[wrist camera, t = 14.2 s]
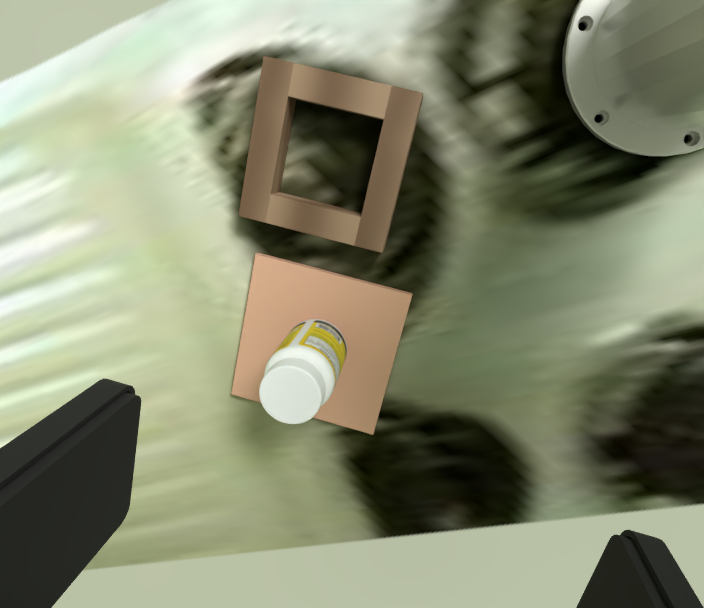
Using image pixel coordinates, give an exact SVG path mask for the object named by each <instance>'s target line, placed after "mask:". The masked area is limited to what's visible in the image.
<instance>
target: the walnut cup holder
mask: <svg viewBox="0 0 704 608" xmlns="http://www.w3.org/2000/svg"><path fill="white" fill-rule="evenodd" d="M296 100H300V101H305V102H309V103H313V104H317V105H321V106H326V107H330V108H334V109H338V110H342V111H346V112H351V113H355V114H359V115H363V116H367V117H372V118H376V119H380V120H384V121H383V125H382V129H381V134H380V138H379V142H378V146H377V151H376V155H375V159H374V163H373V168H372V172H371V176H370V180H369V185H368V189H367V193H366V197H365V202H364V206H363V210H362V213H360V212H356V211H352V210H349V209H345V208H341V207H337V206H333V205H329V204H325V203H321V202H317V201H313V200H309V199H305V198H301V197H297V196H293V195H289V194H285V193H281V192H280V188H281V182H282V177H283V171H284V166H285V160H286V155H287V149H288V144H289V138H290V133H291V127H292V122H293V116H294V111H295V105H296ZM422 100H423V93H421V92H416V91H412V90H408V89H403V88H399V87H395V86H391V85H386V84H382V83H378V82H373V81H369V80H365V79H361V78H356V77H352V76H348V75H343V74H339V73H335V72H331V71H326V70H322V69H318V68H313V67H309V66H305V65H301V64H296V63H292V62H288V61H284V60H279V59H275V58H271V57H266V56H264V58H263V64H262V70H261V77H260V83H259V89H258V96H257V102H256V108H255V114H254V121H253V127H252V133H251V140H250V146H249V152H248V159H247V165H246V171H245V177H244V184H243V190H242V196H241V203H240V209H239V215H238V216H241V217H245V218H249V219H253V220H257V221H261V222H265V223H268V224H272V225H276V226H280V227H284V228H288V229H292V230H295V231H299V232H303V233H307V234H311V235H315V236H319V237H322V238H326V239H330V240H334V241H338V242H342V243H346V244H350V245H353V246H357V247H361V248H365V249H369V250H373V251H377V252H380V253H383V251H384V249H385V246H386V242H387V238H388V234H389V230H390V226H391V222H392V218H393V214H394V210H395V206H396V202H397V199H398V195H399V191H400V187H401V183H402V179H403V175H404V171H405V167H406V163H407V159H408V155H409V151H410V147H411V143H412V140H413V136H414V132H415V128H416V124H417V120H418V116H419V112H420V108H421V104H422Z"/></svg>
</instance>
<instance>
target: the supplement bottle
mask: <svg viewBox="0 0 704 608" xmlns="http://www.w3.org/2000/svg"><path fill="white" fill-rule="evenodd" d="M346 355H347V345H346V341H345V338H344V336H343V334H342V333H341V331H340V330H339V329H338V328H337V327H336V326H334V325H333V324H331V323H330V322H327V321H325V320H321V319H310V320H306V321H303V322H301V323H299V324H297V325H296V326H295V327H294V328H293V329H292V330H291V331H290V333H289V334H288V335H287V337H286V338H285V339H284V341H283V342H282V343H281V345H280V346H279V347H278V349H277V350H276V351H275V352H274V354H273V355H272V356H271V358H270V359H269V361H268V362H267V365H266V368H265V372H264V377H263V379H262V381H261V384H260V388H259V396H260V401H261V403H262V406H263V407H264V409H265V410H266V412H267V413H268V414H269V415H270V416H272V417H273V418H274V419H276V420H278V421H280V422H283V423H286V424H300V423H304V422H306V421H308V420H310V419H311V418H312V417H314V416H315V414H316V413H317V412H318V410H319V408H320V407H321V406H322V405H323V404H324V403H325V402H326V401H327V400H328V399H329V397H330V396H331V394H332V392H333V390H334V387H335V385H336V382H337V380H338V377H339V374H340V372H341V370H342V367H343V364H344V362H345V359H346Z"/></svg>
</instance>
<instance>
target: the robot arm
mask: <svg viewBox="0 0 704 608" xmlns="http://www.w3.org/2000/svg"><path fill="white" fill-rule="evenodd" d="M579 23H583V24H585V30H584V31H580V30H579V28H578V25H579ZM562 73H563V78H564V84H565V89H566V93H567V96H568V98H569V100H570V103H571V105H572V108H573V110H574V112H575V113H576V114H577V116H578V117H579V119H580V120H581V122H582V123H583V125H584V126H585V127H586V128H587V129H588V130H589V131H590V132H592V133H593V134H594V135H595V136H596V137H597V138H598V139H600V140H602V141H603V142H605V143H607V144H608V145H610V146H612V147H613V148H616V149H619V150H622V151H625V152H628V153H631V154H637V155H645V156H671V155H678V154H685V153H690V152H693V151H696V150H699V149H702V148H704V0H579V2H578V3H577V5H576V7H575V9H574V11H573V14H572V17H571V19H570V22H569V25H568V28H567V30H566V36H565V41H564V46H563V58H562ZM596 115H600V116H601V121H600V122H599V123H596V122H595V120H594V118H595V116H596ZM685 135H687V136H688V137H689V140H688V142H687V143H684V137H685ZM140 409H141V398H140V397H139V396H137V395H135V390H134V388H133V387H132V386H130V385H126V384H123V383H119V382H116V381H112V380H109V379H102V380H100V381H98V382H97V383H95V384H94V385H92V386H91V387H89V388H88V389H87V390H85V391H84V392H82V393H81V394H79V395H78V396H76V397H75V398H73V399H72V400H70V401H69V402H68V403H66V404H65V405H63V406H62V407H60V408H59V409H57V410H56V411H54V412H53V413H51V414H50V415H49V416H47V417H46V418H44V419H43V420H41V421H40V422H38V423H37V424H35V425H34V426H32V427H31V428H30V429H28V430H27V431H25V432H24V433H22V434H21V435H19V436H18V437H16V438H15V439H13V440H12V441H11V442H9V443H8V444H6V445H5V446H3V447H2V448H0V608H51V607H52V606H53V605H54V604H55V603H56V601H57V600H58V599H59V598H60V597H61V595H62V594H63V593H64V592H65V591H66V589H67V588H68V587H69V586H70V585H71V583H72V582H73V581H74V580H75V579H76V578H77V576H78V575H79V574H80V573H81V572H82V570H83V569H84V568H85V567H86V566H87V564H88V563H89V562H90V561H91V560H92V558H93V557H94V556H95V555H96V554H97V552H98V551H99V550H100V549H101V548H102V546H103V545H104V544H105V543H106V542H107V540H108V539H109V538H110V537H111V536H112V534H113V533H114V532H115V531H116V530H117V528H118V527H119V526H120V525H121V523H122V522H123V520H124V519H125V517H126V515H127V512H128V510H129V506H130V499H131V490H132V481H133V472H134V463H135V454H136V445H137V436H138V427H139V418H140ZM577 608H703V606H702V604H701V603H700V601H699V599H698V598H697V596H696V594H695V593H694V591H693V589H692V588H691V586H690V584H689V583H688V581H687V579H686V578H685V576H684V574H683V573H682V571H681V569H680V568H679V566H678V564H677V563H676V561H675V559H674V558H673V556H672V554H671V553H670V551H669V550H668V548H667V546H666V545H665V543H664V542H663V541H662V540H660V539H658V538H655V537H652V536H648V535H644V534H641V533H638V532H635V531H631V530H625V531H624V532H622V533H621V535H620V536H619V535H613V536H612V537H611V538H610V540H609V542H608V544H607V546H606V548H605V550H604V552H603V554H602V556H601V558H600V560H599V562H598V565H597V566H596V569H595V571H594V573H593V575H592V577H591V579H590V581H589V583H588V585H587V587H586V589H585V591H584V593H583V595H582V597H581V599H580V602H579V603H578V605H577Z"/></svg>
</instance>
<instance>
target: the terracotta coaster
mask: <svg viewBox="0 0 704 608" xmlns="http://www.w3.org/2000/svg"><path fill="white" fill-rule="evenodd" d="M411 298H412V293H410V292H406V291H402V290H398V289H395V288H391V287H387V286H383V285H380V284H376V283H372V282H368V281H364V280H361V279H357V278H353V277H349V276H345V275H342V274H338V273H334V272H330V271H326V270H323V269H319V268H315V267H311V266H307V265H304V264H300V263H296V262H292V261H288V260H285V259H281V258H277V257H273V256H269V255H266V254H262V253H256V254H255V260H254V266H253V272H252V278H251V283H250V289H249V295H248V301H247V306H246V312H245V318H244V324H243V329H242V335H241V341H240V347H239V352H238V358H237V364H236V370H235V376H234V381H233V387H232V393H231V394H232V395H236V396H239V397H243V398H246V399H250V400H253V401H257V402H260V403H261V401H260V396H259V388H260V384H261V381H262V379H263V377H264V372H265V368H266V365H267V362H268V361H269V359H270V358H271V356H272V355H273V354H274V352H275V351H276V350H277V349H278V347H279V346H280V345H281V343H282V342H283V341H284V339H285V338H286V337H287V335H288V334H289V333H290V331H291V330H292V329H293V328H294V327H295V326H296V325H297V324H299V323H301V322H303V321H306V320H310V319H321V320H325V321H327V322H330V323H331V324H333V325H334V326H336V327H337V328H338V329H339V330H340V331H341V333H342V334H343V336H344V338H345V341H346V345H347V355H346V359H345V362H344V364H343V367H342V370H341V372H340V374H339V377H338V380H337V382H336V385H335V387H334V390H333V392H332V394H331V396H330V397H329V399H328V400H327V401H326V402H325V403H324V404H323V405H322V406H321V407H320V408H319V410H318V412H317V413H316V414H315V416H314V417H313V418H316V419H320V420H323V421H327V422H330V423H334V424H337V425H341V426H344V427H348V428H351V429H355V430H358V431H362V432H365V433H369V434H372V435H373V434H374V430H375V426H376V423H377V419H378V416H379V412H380V409H381V405H382V401H383V398H384V394H385V391H386V387H387V384H388V380H389V376H390V373H391V369H392V366H393V362H394V359H395V355H396V352H397V348H398V344H399V341H400V337H401V334H402V330H403V327H404V323H405V319H406V316H407V312H408V309H409V305H410V302H411Z"/></svg>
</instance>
